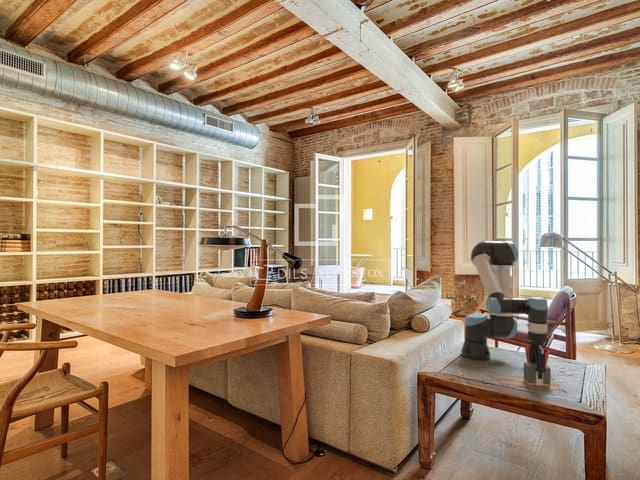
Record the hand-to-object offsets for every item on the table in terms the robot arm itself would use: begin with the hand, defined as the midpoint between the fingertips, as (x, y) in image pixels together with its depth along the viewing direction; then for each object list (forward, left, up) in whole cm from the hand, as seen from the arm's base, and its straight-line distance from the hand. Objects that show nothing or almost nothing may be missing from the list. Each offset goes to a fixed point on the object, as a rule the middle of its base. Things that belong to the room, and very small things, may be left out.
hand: (536, 382), depth 167 cm
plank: (0, -4, -1) cm, 4 cm away
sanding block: (0, 0, 0) cm, 0 cm away
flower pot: (-25, +8, -2) cm, 26 cm away
